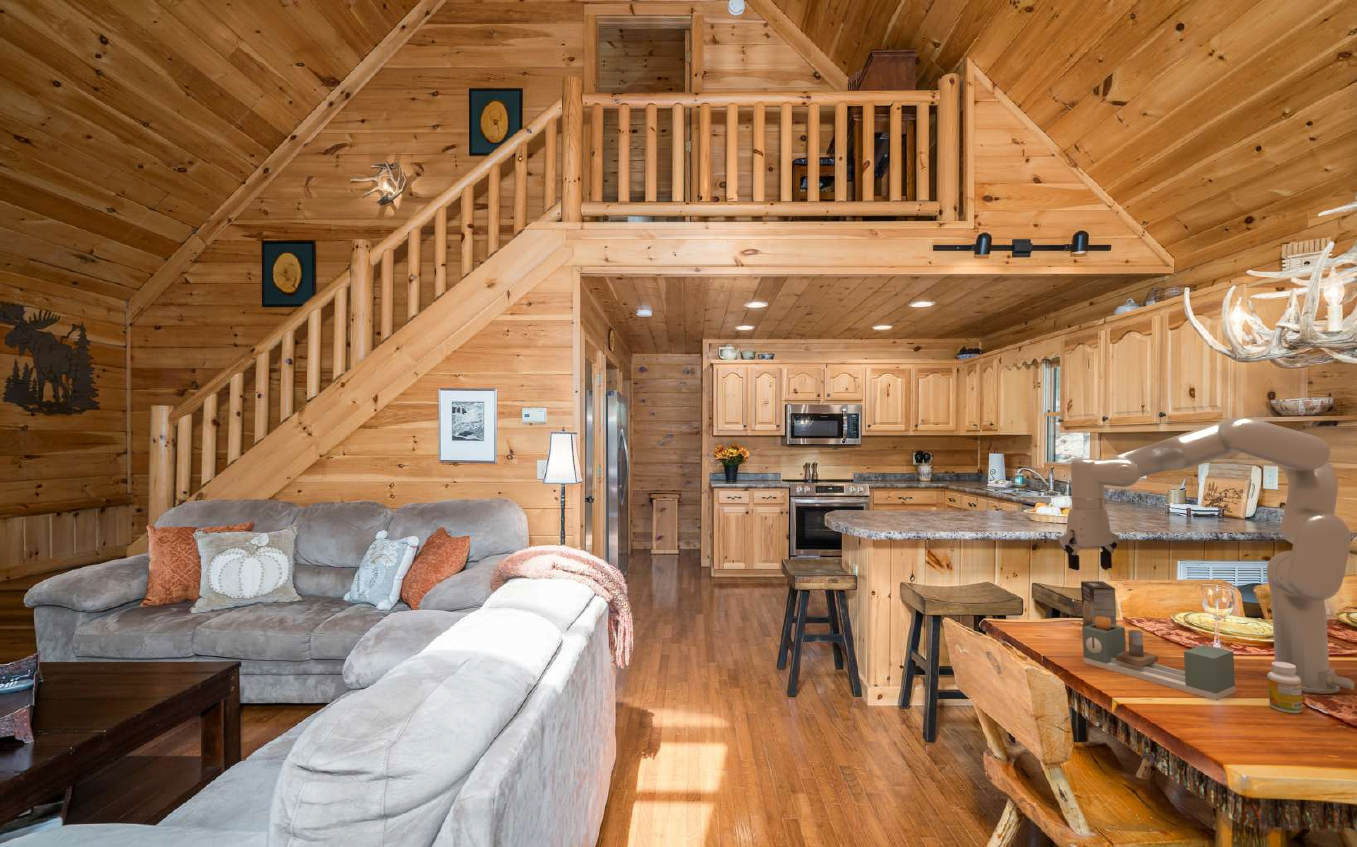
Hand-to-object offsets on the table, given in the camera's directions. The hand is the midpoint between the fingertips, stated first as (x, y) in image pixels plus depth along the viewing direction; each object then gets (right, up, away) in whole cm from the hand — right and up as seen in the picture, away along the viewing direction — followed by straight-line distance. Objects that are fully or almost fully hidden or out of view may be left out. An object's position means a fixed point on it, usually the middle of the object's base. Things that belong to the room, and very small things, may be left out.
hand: (1090, 568), depth 177 cm
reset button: (+4, -17, 0) cm, 17 cm away
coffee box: (+16, -26, +21) cm, 37 cm away
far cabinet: (+4, -24, 0) cm, 24 cm away
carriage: (+8, -22, -7) cm, 25 cm away
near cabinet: (+15, -23, -21) cm, 35 cm away
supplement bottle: (+23, -24, -32) cm, 46 cm away
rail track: (+9, -25, -11) cm, 29 cm away
